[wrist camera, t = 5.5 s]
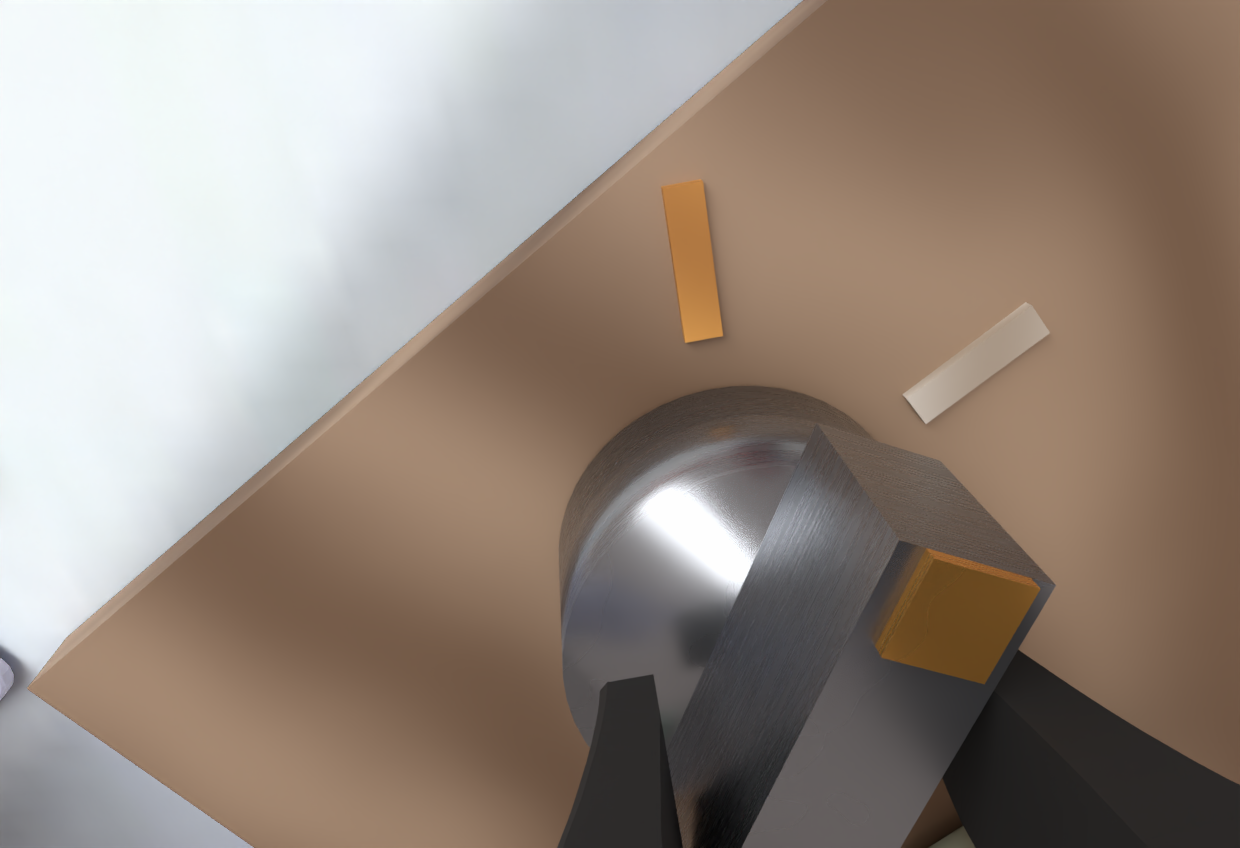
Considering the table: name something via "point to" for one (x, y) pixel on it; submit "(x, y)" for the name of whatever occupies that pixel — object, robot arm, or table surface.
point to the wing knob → (789, 614)
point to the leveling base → (743, 356)
